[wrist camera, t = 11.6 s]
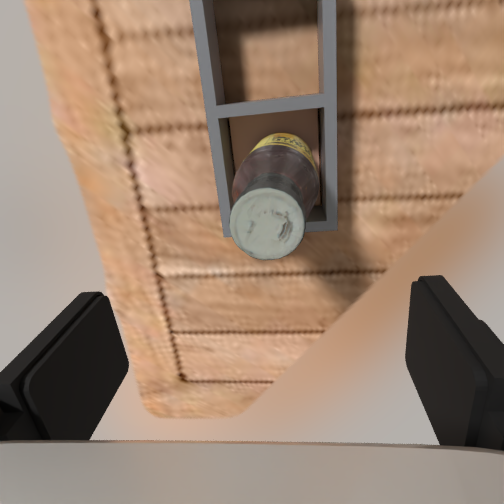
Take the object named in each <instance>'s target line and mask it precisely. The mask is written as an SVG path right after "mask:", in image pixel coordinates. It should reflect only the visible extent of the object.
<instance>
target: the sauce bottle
mask: <svg viewBox="0 0 504 504" xmlns="http://www.w3.org/2000/svg"><path fill="white" fill-rule="evenodd" d="M318 194H319V178H318V173H317V169H316V165H315V162H314V159H313V155H312V152H311V150H310V148H309V147H308V145H307V144H306V143H305V142H304V141H303V140H302V139H301V138H300V137H298V136H296V135H294V134H291V133H286V132H278V133H273V134H270V135H268V136H266V137H265V138H263V139H262V140H261V141H260V142H259V143H258V144H257V145H256V146H255V147H254V149H253V150H252V151H251V152H250V153H249V154H248V155H247V157H246V158H245V159H244V160H243V162H242V164H241V166H240V167H239V169H238V171H237V172H236V175H235V177H234V181H233V188H232V197H233V201H234V205H233V207H232V210H231V213H230V217H229V228H230V233H231V235H232V238H233V240H234V242H235V243H236V245H237V246H238V247H239V248H240V249H241V250H243V251H244V252H245V253H247V254H248V255H249V256H251V257H254V258H257V259H261V260H273V259H280V258H282V257H284V256H286V255H289V254H290V253H291V252H292V251H294V250H295V249H296V247H297V246H298V245H299V244H300V242H301V241H302V239H303V237H304V233H305V229H306V220H307V218H308V215H309V214H310V212H311V210H312V208H313V206H314V204H315V202H316V200H317V197H318Z"/></svg>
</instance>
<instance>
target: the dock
mask: <svg viewBox="0 0 504 504" xmlns="http://www.w3.org/2000/svg"><path fill="white" fill-rule="evenodd" d="M189 1H190V8H191V15H192V22H193V29H194V36H195V43H196V49H197V56H198V63H199V70H200V77H201V84H202V91H203V97H204V104H205V111H206V118H207V125H208V132H209V138H210V145H211V152H212V159H213V166H214V173H215V180H216V186H217V193H218V200H219V207H220V214H221V221H222V227H223V234H224V237H232V235H231V233H230V228H229V217H230V213H231V210H232V207H233V205H234V201H233V197H232V188H233V181H234V177H235V176H234V168H233V159H232V151H231V143H230V135H229V127H228V119H227V117H229V123H230V131H231V139H232V147H233V156H234V164H235V172H237V171H238V169H239V167H240V166H241V164H242V162H243V160H244V159H245V158H246V157H247V155H248V154H249V153H250V152H251V151H252V150H253V149H254V147H255V146H256V145H257V144H258V143H259V142H260V141H261V140H262V139H263V138H265V137H266V136H268V135H270V134H273V133H278V132H286V133H291V134H294V135H296V136H298V137H300V138H301V139H302V140H303V141H304V142H305V143H306V144H307V145H308V147H309V148H310V150H311V152H312V155H313V159H314V162H315V165H316V169H317V173H318V178H319V194H318V197H317V200H316V202H315V204H314V205H318V206H313V208H312V210H311V212H310V214H309V215H308V218H307V220H306V229H305V232H317V231H333V230H338V221H337V73H336V0H317V25H318V65H319V93H317V94H308V95H299V96H290V97H281V98H272V99H262V100H253V101H244V102H235V103H225V95H224V87H223V79H222V71H221V62H220V54H219V46H218V38H217V30H216V22H215V14H214V6H213V0H189ZM318 108H320V146H321V186H322V205H319V204H320V176H319V138H318Z"/></svg>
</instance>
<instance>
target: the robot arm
mask: <svg viewBox="0 0 504 504" xmlns="http://www.w3.org/2000/svg"><path fill="white" fill-rule="evenodd" d="M405 359H406V365H407V368H408V370H409V373H410V375H411V378H412V380H413V383H414V385H415V387H416V390H417V392H418V394H419V397H420V399H421V401H422V404H423V406H424V408H425V411H426V413H427V415H428V418H429V420H430V422H431V425H432V427H433V430H434V432H435V434H436V437H437V439H438V441H439V444H440V445H423V444H383V443H334V442H333V443H332V442H331V443H330V442H264V441H263V442H262V441H261V442H260V441H154V440H134V441H133V440H130V441H129V440H126V441H125V440H119V441H118V440H89V439H90V438H91V436H92V434H93V432H94V431H95V429H96V427H97V425H98V424H99V422H100V420H101V418H102V416H103V415H104V413H105V411H106V409H107V408H108V406H109V404H110V402H111V401H112V399H113V397H114V395H115V393H116V392H117V389H118V388H119V386H120V385H121V383H122V381H123V379H124V377H125V376H126V374H127V372H128V368H129V362H128V358H127V355H126V352H125V348H124V345H123V342H122V339H121V336H120V333H119V329H118V326H117V323H116V320H115V317H114V313H113V310H112V307H111V304H110V301H109V298H108V297H107V296H104V295H103V293H102V292H83V293H80V294H79V295H78V296H77V297H76V298H75V299H74V300H73V301H72V302H71V303H70V304H69V305H68V306H67V307H66V308H65V309H64V310H63V311H62V312H61V313H60V314H59V315H58V316H57V317H56V318H55V319H54V320H53V321H52V322H51V323H50V324H49V325H48V326H47V327H46V328H45V329H44V330H43V331H42V332H41V333H40V334H39V335H38V336H37V337H36V338H35V339H34V340H33V341H32V342H31V343H30V344H29V345H28V346H27V347H26V348H25V349H24V350H23V351H22V352H21V353H19V354H18V356H17V357H15V358H14V360H13V361H11V363H9V364H8V365H7V366H6V367H5V368H4V369H3V370H2V371H1V372H0V504H504V344H503V343H502V342H501V341H500V340H499V339H498V338H497V336H496V335H495V334H494V333H493V332H492V330H491V329H490V328H489V327H488V325H487V324H486V323H485V322H483V321H482V320H479V319H478V318H477V317H476V316H475V315H474V314H473V312H472V311H471V310H470V309H469V307H468V306H467V305H466V304H465V303H464V301H463V300H462V299H461V298H460V296H459V295H458V294H457V293H456V292H455V290H454V289H453V288H452V287H451V285H450V284H449V283H448V282H447V281H446V279H445V278H444V277H443V276H441V275H436V276H420V277H419V279H418V281H415V282H412V285H411V295H410V307H409V319H408V330H407V342H406V354H405Z"/></svg>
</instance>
